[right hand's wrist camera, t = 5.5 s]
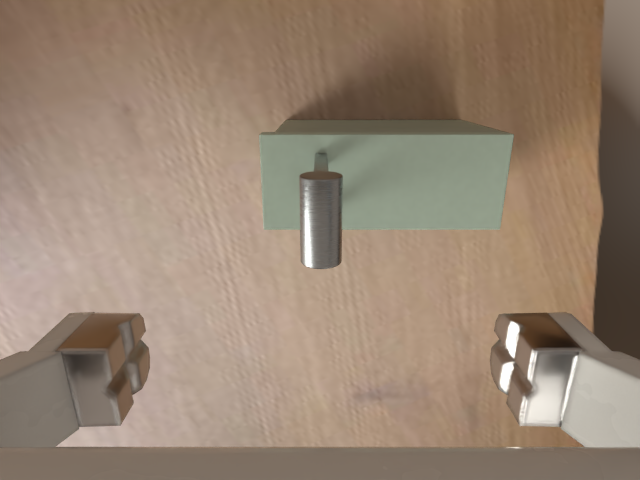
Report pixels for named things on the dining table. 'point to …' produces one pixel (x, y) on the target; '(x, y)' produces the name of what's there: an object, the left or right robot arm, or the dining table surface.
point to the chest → (382, 126)
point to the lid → (380, 184)
